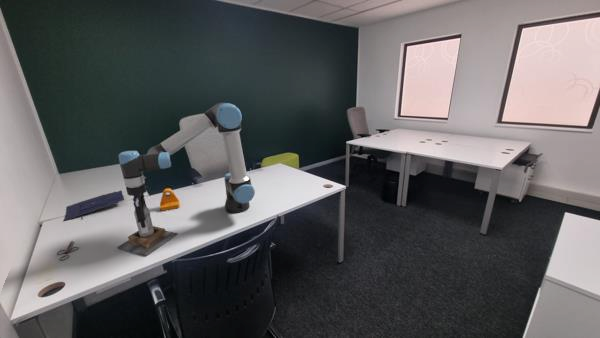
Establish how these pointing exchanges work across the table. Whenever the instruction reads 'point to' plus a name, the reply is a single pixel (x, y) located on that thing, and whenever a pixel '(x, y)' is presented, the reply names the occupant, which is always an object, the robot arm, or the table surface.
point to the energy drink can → (149, 223)
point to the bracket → (169, 200)
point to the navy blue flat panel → (93, 204)
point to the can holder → (147, 241)
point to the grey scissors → (67, 251)
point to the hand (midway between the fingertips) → (146, 229)
